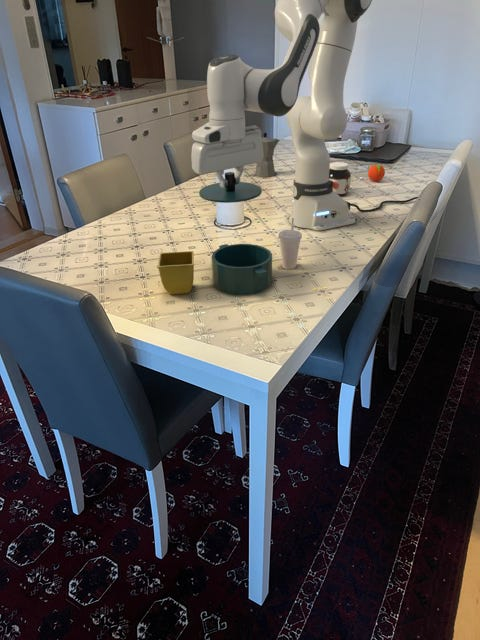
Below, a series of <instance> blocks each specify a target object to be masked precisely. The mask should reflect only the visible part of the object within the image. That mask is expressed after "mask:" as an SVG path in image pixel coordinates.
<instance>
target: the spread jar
mask: <svg viewBox="0 0 480 640" xmlns="http://www.w3.org/2000/svg"><path fill="white" fill-rule="evenodd" d="M348 167H349V164H348V163H346V162H341V161H335V162H330V168H329V180H331V181H333V182H336V183H338V184H339V186H338V187H339V188H338V189H334V188H333V191H334V192H335V193H336V194H338V195H339V196H340V197H341V198H342V197H344V196H346V195H347V194H348V193H349V191H350V188H351V181H352V174H351V171H350V170H349V169H348Z"/></svg>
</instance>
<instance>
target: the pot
mask: <svg viewBox="0 0 480 640" xmlns="http://www.w3.org/2000/svg"><path fill="white" fill-rule="evenodd" d="M211 275H212V283H213V286H214V287H215V288H216V289H217V290H218V291H219V292H222V293H225V294H229V295H235V296H246V295H247V296H248V295H254V294H255V295H256V294H258V293H261V292H263V291H266V290H267V289H269V288H270V286H271V285H272V281H273V253H272V252H271V250H270V249H268V248H266V247H264V246H261V245H258V244H252V243H234V244H227V243H225V244H221V245H218V248H217V249H216V250H214V251H213V252H212V254H211Z"/></svg>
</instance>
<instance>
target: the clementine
mask: <svg viewBox="0 0 480 640" xmlns="http://www.w3.org/2000/svg"><path fill="white" fill-rule="evenodd" d="M385 175H386V171H385V168H384V167H383V165H381V164H373V165H371V166H370V168H369V169H368V171H367V176H368V179H369V180H370V181H372V182H379V181H381V180H382V179H383V178H384V177H385Z"/></svg>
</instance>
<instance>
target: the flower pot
mask: <svg viewBox="0 0 480 640" xmlns="http://www.w3.org/2000/svg"><path fill="white" fill-rule="evenodd" d="M194 256H195V252H194V251H193V250H188V251H187V250H186V251H172V252H160V253H159V254H158V263H157V269H158V272H159V273H158V274H159V277H160V280H161V284H162V286H163V288H164V289H165V290H164V291H166V292H167V294H169V295H185V294H190V292H191V291H192V289H193V285H194V279H195V277H194V275H195V273H194V271H195V268H194V267H195V262H194V261H195V260H194V259H195V258H194Z"/></svg>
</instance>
